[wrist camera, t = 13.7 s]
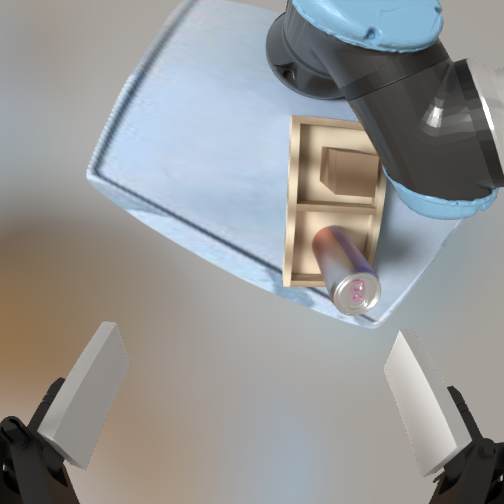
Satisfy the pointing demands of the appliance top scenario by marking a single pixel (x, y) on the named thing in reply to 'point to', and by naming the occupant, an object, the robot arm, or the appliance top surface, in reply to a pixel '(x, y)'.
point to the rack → (325, 198)
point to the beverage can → (345, 272)
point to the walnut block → (349, 171)
